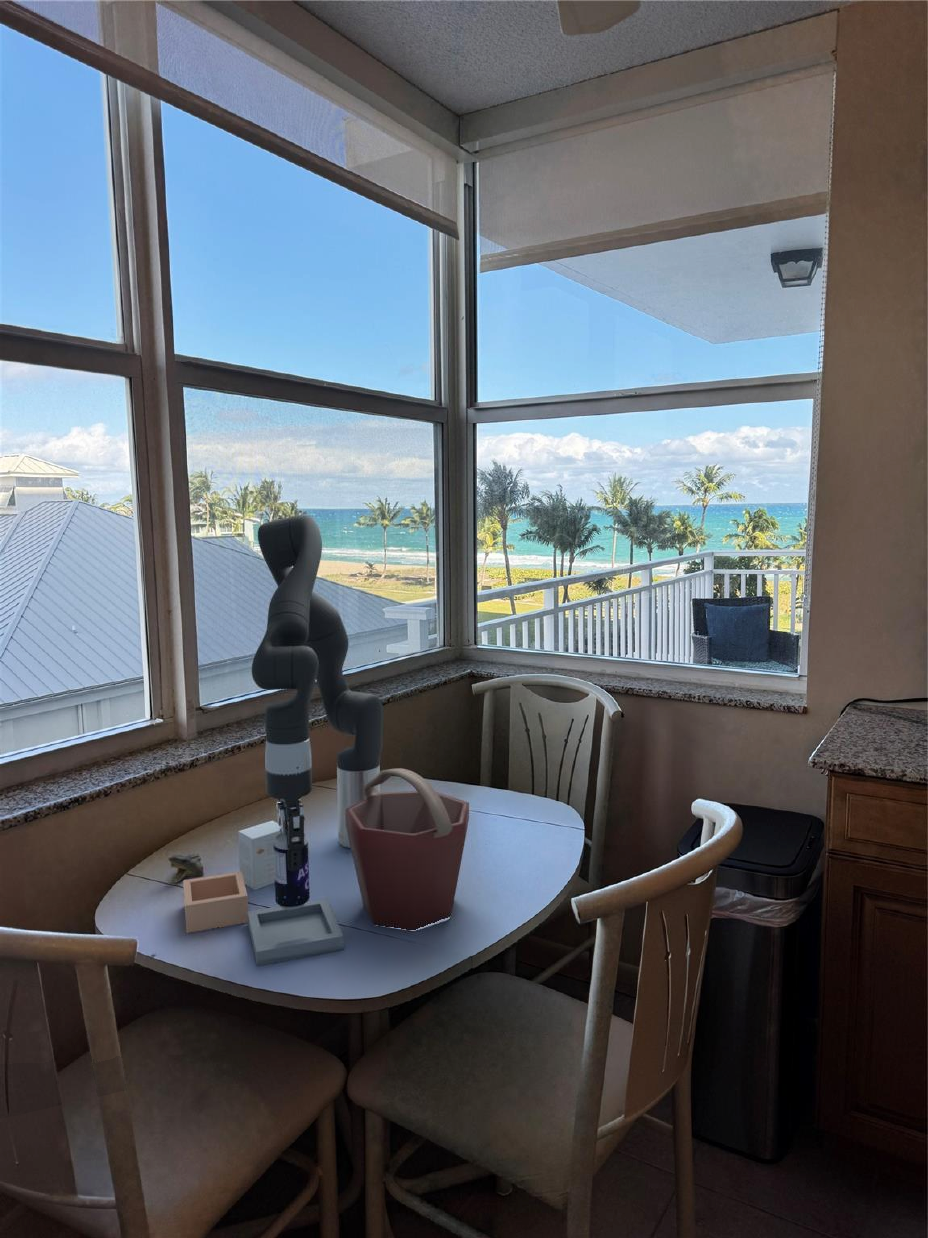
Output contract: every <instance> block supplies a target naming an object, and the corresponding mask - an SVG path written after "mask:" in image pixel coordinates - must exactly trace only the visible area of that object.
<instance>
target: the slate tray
mask: <svg viewBox="0 0 928 1238" xmlns="http://www.w3.org/2000/svg"><path fill="white" fill-rule="evenodd" d="M247 916H248V923H247V927H248V928H247V929H248V931H249V935H250V940H251V945H252V950H253V955H254V958H255V962H256V966H257V967H258V966H264V965H269V964H274V963H279V962H286V961H290V960H295V959H300V958H301V959H302V958H306V957H311V956H316V955H321V954H326V953H327V954H328V953H332V952H338V951H342V950H344V949H345V948H344V946H345V945H344V944H345V943H344V933H343V932H342V930H341V928H340V925H339V923H338V920H337V919H336V916H335V914H334V912H333V909H332V907H331V905H330V902H329V901H328V899H327V898H323V899H322V898H321V899H317V900H310V901H309V900H308V901H307V902H306V903H305V905H304V906H303V907H301V908H298V909H294V910H287V909H283V908H282V907H281V906H280V905H279V906H274V907H269V908H262V909H257V910H252V911H251V910H249V911H248V912H247Z"/></svg>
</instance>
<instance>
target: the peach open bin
mask: <svg viewBox="0 0 928 1238" xmlns="http://www.w3.org/2000/svg"><path fill="white" fill-rule="evenodd" d="M182 880H183V881H182V884H183V887H182V889H183V902H184V903H183V905H184V908H183V909H184V917H185V918H184V920H185V931H186V932H185V933H186V934H190V933H196V932H201V931H207V930H212V928H214V929H218V928H217V927H219V928H224V927H229V926H235V925H242V924H241V923H243V924H248V916H247V912H249V902H248V900H249V899H248V898H249V897H248V896H249V895H248V892H247V888H246V885H245V884H244V879H243V875H242V871H241V872H240V871H235V872H231V873H230V872H227V873H224V874H217V875H209V876H204V877H203V876H201V877H196V878H190V879H182Z"/></svg>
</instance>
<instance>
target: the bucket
mask: <svg viewBox="0 0 928 1238" xmlns="http://www.w3.org/2000/svg"><path fill="white" fill-rule="evenodd" d="M392 776H395V777H398V778H401V779H402V780H405V781H406V782H407V783H408V784H410V785H412V786H413V788H414V789H415V790H406V791H405V790H402V791H384V792H382V791H381V792H380V793H378V792H377V790H376V789H375V787H374V786H376V785H379V784H380V785H382V784H384V783H385V782H386V781H388V780H390V778H391V777H392ZM363 793H364V796H365V798H366V799H365V800H363V801H361V802H359V803H357V804H355V805H353V806H351V807H349V808H347V809H345V817H346V829H347V833H348V838H349V842H350V847H351V848H350V850H351V855H352V859H353V864H354V869H355V873H356V878H357V882H358V887H359V893H360V897H361V900H362V905H363V908H364V910H365V912H366V911H367V912H366V914H367V915H368V917H369V919H370V920H372V921H371V922H372V924H374V925H378V926H377V927H380V926H385V927H384V928H386V927H394V928H401V929H406V930H416V929H418V928H420V927H424V926H426V925H428V924H431V923H435V922H437V921H439V920H441V919H445V918H448V917H450V916H451V917H452V912H453V907H454V903H455V898H456V890H457V886H458V882H459V875H460V870H461V865H462V859H463V854H464V848H465V843H466V838H467V837H466V836H467V832H468V827H469V826H468V825H469V822H470V821H469V820H470V802H468V801H465V800H462V799H460V798H457V797H452V796H450V795H447V794H443V793H441V792H437V791H436V790H435V789H434V787H433V786H432V785H431V784H430V782H429V781H428V780H426V779H425V778H423V777H422V776H421V775H419V774H418V773H416V772H414V771H412V770H410V769H406V768H402V767H400V768H390V769H383V770H380V773H379V774H378V775H377V776H376V777H375V778H373V779H372V780H371V781H369V782H368V783H367V784H366V785H365V786H364V788H363ZM374 925H373V926H374Z"/></svg>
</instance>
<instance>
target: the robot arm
mask: <svg viewBox="0 0 928 1238" xmlns="http://www.w3.org/2000/svg"><path fill="white" fill-rule="evenodd" d="M257 541H258V547H259V549H260V552H261V554H262V557H263V559H264V562H265V563H266V566H267V567H268V570H269V571H270V573H271V575H272V578H273V580H274V582H275V583H276V586H277V588H276V589H275V590H274V593H273V594H272V596H271V599H270V601H269V605H268V611H267V613H268V614H267V624H266V630H265V634H264V636H263V638H262V640H261V641H260V643H259V646H258V648H257V650H256V651H255V654H254V657H253V658H252V664H251V676H252V679H253V681H254V683H255V684H256V686H257V687H259V688H260V689H262V690H266V691H270V690H271V691H272V690H273V691H274V690H279V691H280V690H282V691H283V690H296V693H295V695H294V696H292V697H291V698H289V699H286V700H282V701H278V702H274V703H272V704H270V705H269V706H268V707H267V708H266V709H265V718H264V719H265V750H264V755H265V756H264V759H265V761H264V763H265V767H264V768H265V789H266V790H265V792H266V794H267V796H269V797H271V798H273V799H277V802H276V811H277V823H278V825H279V826H280V832H281V833H282V834H283V835H285V836H286V848H287V866H288V870H289V871H294V870H300V869H301V867H302V862H301V849H302V848H304V846H305V844H304V834H305V815H304V814H305V810H304V804H302V801H301V798H302V797H306V796H308V795H309V794H310V793H311V792H312V790H313V769H312V768H313V763H312V762H313V760H312V746H311V740H310V705H311V700H312V695H313V691H314V688H315V687H314V686H315V685H316V684H317V687H318V690H319V693H320V696H321V701H322V704H323V709H324V711H325V715H326V718H327V721H328V723H329V725H330V727H331V728H332V729H333V730H334V731H335V732H338V733H342V734H346V735H352V736H354V745H353V746H350V747H346V748H344V749H342V750H340V751H338V753H337V755H336V775H337V776H336V777H337V778H336V779H337V783H336V784H337V822H338V823H337V825H338V828H337V829H338V830H337V831H338V832H337V833H338V834H337V836H338V843H339V845H340V846H342V847H344V848H348V849H351V847H350V842H349V838H348V833H347V829H346V817H345V809H347V808H349V807H351V806H353V805H355V804H357V803H359V802H361V801H363V800H365V799H366V798H365V796H364V793H363V788H364V786H365V785H366V784H367V783H368V782H369V781H371V780H372V779H373V778H375V777H376V776H377V775H378V774H379V773H380V772H381V769H380V767H381V764H380V761H381V758H380V757H381V754H382V750H383V731H384V726H383V725H384V710H383V704H382V701H381V699H380V698H379V696H378V695H375V694H372V693H368V692H367V693H366V692H361V691H359V692H358V691H352V690H351V689H350V688H349V686H348V684H347V681H346V679H345V677H344V673H343V668H344V664H345V661H346V659H347V654H348V650H349V638H348V637H349V636H348V634H347V631H346V627H345V625H344V622H343V621H342V617H341V616H340V613H339V611H338V609H336V607H334V606H333V604H331V603H330V602H329V601H328V600H326V599H325V598H324V597H322V596H321V595H320V594H318V593H317V592H316V591H314V590H313V589H314V587H315V583H316V579H317V575H318V572H319V567H320V562H321V558H322V554H323V540H322V536H321V531H320V528H319V526H318V524H317V521H316V520H315V518H314V517H312V516H311V515H310V514H308V513H307V514H305V513H304V514H296V515H292V516H289V517H283V518H280V519H279V518H278V519H275V520H271V521H268V522H265V523H262V524H260V526H259V527H258V530H257ZM374 787H375V789H376V790H377V792H378V793H381V784H379V785H376V786H374ZM294 837H298V841H293V842H292V838H294Z"/></svg>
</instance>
